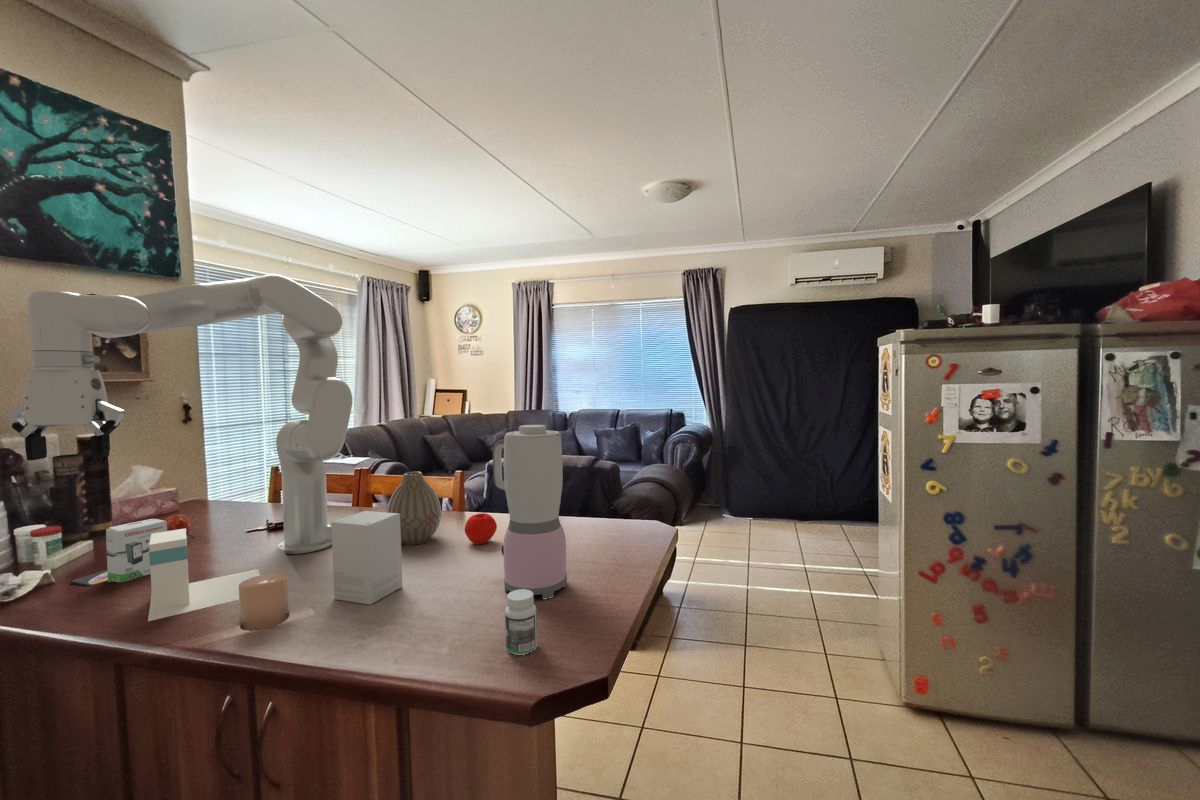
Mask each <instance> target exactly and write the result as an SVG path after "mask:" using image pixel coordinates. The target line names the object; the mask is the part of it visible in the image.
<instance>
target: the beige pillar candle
mask: <svg viewBox="0 0 1200 800" xmlns="http://www.w3.org/2000/svg"><path fill="white" fill-rule="evenodd" d="M288 585H289V584H288V575H287V574H285V573H265V574H260V576H256V577H253V578H250V579H247V580H245V581H243V582H242V583H240V584H239V600H238V601H239V602H238V603H239V604H238V605H239V621H240V622H241V623H242V624H240V629H241V630H242V629H243V630H242V631H245V630H249V631H248V632H253V631H252V630H258V631H263V630H267V628H268V629H270V627H271V628H274V627H277V626H279V625H281V624H282V623H284V622H286V621H287V620H288V619H289V617H290V612H289V610H290V609H289V607H290V605H289V588H288ZM278 624H279V625H278ZM273 626H274V627H273ZM262 629H263V630H262Z"/></svg>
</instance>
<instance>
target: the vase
mask: <svg viewBox="0 0 1200 800" xmlns="http://www.w3.org/2000/svg"><path fill="white" fill-rule="evenodd" d="M436 493H437V492H435V489H433V487H432V486H431V485H430V484H429V483H428V482H427V481H426V480H425V477H424V476H423V472H422V471H409V472H405V473H403V477H402V479H401V482H400V483H399V485H398V486H397V487H396V488H395V490H394V491H393V493H392V494H391V496H390V498H389V500H388V503H387V507H386V513H398V514H400V527H401V545H407V546H412V545H420V544H423V543H426V542H428V541H429V540H430V539H431V538H432V537H433V536H434V534H435V533H436V532H437V530H438V528H439V525H440V523H441V517H442V510H441V509H442V508H441V503H440V499H439V497H438V495H437V494H436Z"/></svg>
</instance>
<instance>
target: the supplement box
mask: <svg viewBox="0 0 1200 800" xmlns="http://www.w3.org/2000/svg"><path fill="white" fill-rule="evenodd" d="M386 512H387V511H386ZM386 512H385V511H373V510H371V511H370V510H364V511H359V512H357V513H354V514H350V515H348V516H345V517H342V518H338V519H335V520H333V521H331V522H330V526H331V533H332V545H331V550H332V551H331V553H332V572H333V573H332V574H333V575H332V576H333V577H332V578H333V593H334V594H333V597H334V600H336V601H338V600H339V601H344V602H350V603H355V604H356V603H357V604H363V605H372V604H374V603H376V602H378V601H379V600H381V599H383V598H385V597H387V596H389V595H390V594H392V593H394V592H395V591H398V590H400V588H403V565H402V563H403V561H402V560H403V559H402V543H401V527H400V514H398V513H386Z"/></svg>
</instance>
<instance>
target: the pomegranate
mask: <svg viewBox="0 0 1200 800" xmlns="http://www.w3.org/2000/svg"><path fill="white" fill-rule="evenodd" d="M163 520H164V521H167V531H172V530H178V529H185V528H186V535H187V537H190V538H194V539H195V538H196V537H195V536H194V535H191V534H189V533H190V531H191V528H192V522H191V519H190V518H189V517H188V516H187V515H185V514H173V515H170V516H168V517H167V518H164V519H163Z"/></svg>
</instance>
